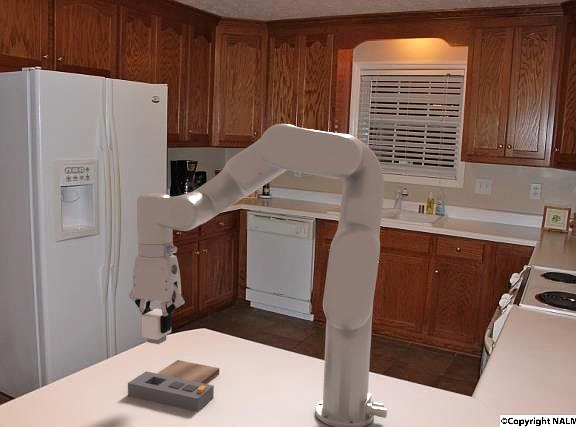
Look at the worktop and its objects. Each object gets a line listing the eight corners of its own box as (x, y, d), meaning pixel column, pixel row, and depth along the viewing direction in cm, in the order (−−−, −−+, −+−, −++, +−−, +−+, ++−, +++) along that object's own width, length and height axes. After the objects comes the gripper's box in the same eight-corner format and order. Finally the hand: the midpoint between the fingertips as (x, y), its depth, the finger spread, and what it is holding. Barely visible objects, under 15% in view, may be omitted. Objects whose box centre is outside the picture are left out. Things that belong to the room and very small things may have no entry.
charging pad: (219, 374, 142) (219, 368, 142) (198, 390, 133) (198, 384, 133) (177, 365, 147) (177, 359, 146) (154, 380, 137) (154, 374, 137)
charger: (171, 338, 131) (171, 310, 130) (157, 346, 126) (156, 317, 125) (156, 335, 132) (156, 308, 131) (142, 343, 127) (141, 315, 126)
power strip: (213, 398, 129) (213, 382, 129) (197, 411, 123) (197, 395, 122) (146, 383, 136) (146, 368, 135) (127, 395, 129) (127, 379, 129)
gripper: (197, 250, 127) (197, 330, 129) (134, 243, 133) (135, 320, 135) (178, 256, 120) (179, 341, 122) (113, 249, 126) (115, 330, 128)
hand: (156, 329), depth 129 cm, fingers closed on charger, 4 cm apart
